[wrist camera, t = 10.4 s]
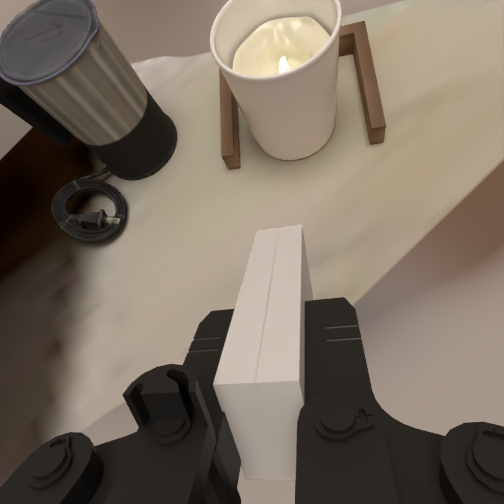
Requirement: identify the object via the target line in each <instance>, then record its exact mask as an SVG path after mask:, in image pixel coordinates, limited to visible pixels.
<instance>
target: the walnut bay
mask: <svg viewBox="0 0 504 504" xmlns="http://www.w3.org/2000/svg"><path fill="white" fill-rule="evenodd" d="M351 53H353V54H354V59H355V64H356V70H357V75H358V81H359V86H360V92H361V97H362V103H363V108H364V114H365V119H366V125H367V130H368V136H369V141H370V144H376V143H381V142H383V140H384V134H385V128H386V124H385V119H384V114H383V109H382V104H381V99H380V94H379V89H378V84H377V79H376V74H375V70H374V65H373V60H372V55H371V50H370V45H369V40H368V35H367V30H366V25H365V21H361V22H357V23H353V24H349V25H345V26H341V27H340V41H339V56H343V55H347V54H351ZM219 73H220V113H221V152H222V158H223V160H224V162H225V163H226V165H227V167H228V168H229V170H230V169H236V168H240V151H239V129H238V106H237V101H236V99H235V97H234V95H233V93H232V91H231V89H230V87H229V85H228V83H227V81H226V79H225V77H224V75H223V73H222V71H221V69H220V67H219Z"/></svg>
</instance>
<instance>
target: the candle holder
mask: <svg viewBox="0 0 504 504" xmlns="http://www.w3.org/2000/svg"><path fill="white" fill-rule="evenodd" d="M341 21H342V10H341V4H340V1H339V0H229V1H228V2H227V3H226V4H225V5H224V6H223V8H222V9H221V10H220V12H219V13H218V15H217V17H216V18H215V21H214V23H213V25H212V29H211V33H210V47H211V52H212V55H213V57H214V59H215V61H216V63H217V64H218V66H219V67H220V69H221V71H222V73H223V75H224V77H225V79H226V81H227V83H228V85H229V87H230V89H231V91H232V93H233V95H234V97H235V99H236V101H237V103H238V105H239V107H240V109H241V111H242V114H243V116H244V118H245V120H246V122H247V124H248V126H249V128H250V130H251V131H252V133H253V135H254V137H255V139H256V141H257V143H258V144H259V146H260V147H261V148H262V150H263V151H265V152H266V153H267V154H269V155H270V156H272V157H274V158H277V159H281V160H298V159H302V158H305V157H308V156H310V155H312V154H314V153H315V152H317V151H318V150H320V149H321V148H322V147H323V146H324V145H325V144H326V143H327V141H328V140H329V138H330V137H331V135H332V132H333V129H334V125H335V117H336V101H337V81H338V61H339V41H340V27H341Z"/></svg>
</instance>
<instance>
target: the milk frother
mask: <svg viewBox="0 0 504 504" xmlns="http://www.w3.org/2000/svg"><path fill="white" fill-rule="evenodd" d="M0 104H2V105H3V106H5V107H6V108H8V109H9V110H10V111H12V112H13V113H14V114H16V115H17V116H19V117H20V118H21V119H23V120H24V121H26V122H27V123H28V124H30V125H31V126H32V127H34V128H35V129H37V130H38V131H40V132H41V133H43V134H44V135H45V136H46V137H48V138H49V139H51V140H52V141H54V142H55V143H57V144H59V145H63V146H66V145H69V143H70V141H71V138H72V136H73V135H74V136H76V137H77V138H78V139H79V140H80V141H81V142H83V143H84V144H85V145H86V146H87V147H88V148H89V149H90V150H91V151H93V152H94V153H95V154H96V155H97V157H98V158H99V159H100V160H101V161H102V162H103V163H105V164H106V166H107V167H106V168H104V169H103V170H101V171H99V172H97V173H95V174H92V175H89V176H86V177H82V178H80V179H78V180H75V181H73V182H71V183H69V184H67V185H65V186H64V187H63V188H61V189H60V190H59V191H58V192H57V194H56V195H55V196H54V198H53V201H52V205H51V208H52V215H53V217H54V219H55V220H56V222H57V223H58V225H59V226H60V227H61V229H62V230H64V231H65V232H66V233H67V234H69V235H70V236H72V237H73V238H75V239H77V240H80V241H83V242H89V243H92V242H102V241H105V240H108V239H110V238H112V237H113V236H115V235H116V234H117V233H118V232H119V231H120V229H121V228H122V226H123V224H124V222H125V219H126V213H127V208H126V202H125V199H124V198H123V196H122V195H121V193H120V192H119V191H118V190H117V189H116V188H115V187H113V186H112V185H110V184H108V183H106V182H102V181H97V180H89V179H92V178H94V177H97V176H100V175H103V174H105V173H107V172H109V171H111V172H112V173H113V174H114V175H116V176H118V177H120V178H123V179H139V178H143V177H146V176H148V175H150V174H152V173H154V172H155V171H157V170H158V169H160V168H161V167H162V166H163V165H164V164H165V163H166V162H167V161H168V159H169V158H170V156H171V154H172V152H173V151H174V148H175V145H176V140H177V133H176V128H175V125H174V123H173V121H172V120H171V119H170V117H169V116H167V115H166V114H165V113H164V112H163V111H162V110H161V108H160V107H159V106H158V104H157V103H156V102H155V100H154V99H153V98H152V96H151V95H150V93H149V92H148V91H147V89H146V87H145V86H144V85H143V83H142V82H141V80H140V79H139V77H138V75H137V74H136V72H135V71H134V69H133V68H132V66H131V65H130V64H129V62H128V61H127V59H126V58H125V56H124V55H123V53H122V52H121V50H120V49H119V47H118V46H117V44H116V43H115V41H114V40H113V39H112V37H111V36H110V34H109V33H108V31H107V30H106V28H105V27H104V25H103V24H102V22H101V21H100V20H99V18H98V17H97V12H96V7H95V6H94V4H93V3H92V1H91V0H38V1H37V2H35V3H33V4H31V5H30V6H28V7H27V8H26V9H25V10H23V11H22V12H21V13H19V14H18V15H17V16H16V17H15V18H14V19H13V20H12V21H11V23H10V24H9V25H7V27H6V29H4V30H3V32H2V35H1V38H0ZM85 191H97V192H101V193H103V194H105V195H107V196H108V197H109V198H110V199H111V200H112V201H113V202H114V204H115V208H116V214H115V217H108V216H107V215H106V213H105V211H104V210H103V209H101V210H100V212H91V213H85V214H84V213H81V214H80V215H74V214H69V213H68V209H67V207H68V204H69V202H70V201H71V200H72V199H73V198H74V197H75V196H76V195H78V194H80V193H82V192H85ZM81 227H82V228H81ZM88 229H91V230H88Z"/></svg>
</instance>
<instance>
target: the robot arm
mask: <svg viewBox="0 0 504 504" xmlns="http://www.w3.org/2000/svg"><path fill="white" fill-rule="evenodd" d="M123 397H124V399H125V401H126V403H127V405H128V407H129V409H130V411H131V413H132V415H133V416H134V418H135V420H136V422H137V424H138V426H139V428H138V430H137V432H135V433H132V434H130V435H128V436H125V437H122V438H119V439H116V440H113V441H110V442H107V443H103V444H100V445H98V446H94V445H93V443H92V442H91V440H90V439H89V437H87V436H85V435H84V434H82V433H74V432H69V433H66V434H63V435H60V436H57V437H55V438H53V439H51V440H50V441H48V442H46V443H45V444H43V445H41V446H40V447H39V448H38V449H37V450H36V451H35V452H33V453H32V454H31V455H30V456H29V457H28V458H27V459H26V460H25V461H24V462H23V463H22V464H21V465H20V466H19V468H18V469H17V470H16V471H15V472H14V473H13V474H12V475H11V476H10V477H9V479H8V480H7V481H6V482H5V483H4V484H3V485H2V486H1V487H0V504H241V498H240V495H239V493H238V490H237V484H238V478H239V472H240V466H241V467H242V470H243V472H244V475H245V478H246V480H296V484H295V485H296V486H295V504H504V427H503V426H499V425H495V424H490V423H486V422H472V423H463V424H462V425H459V426H457V427H455V428H453V429H451V430H450V431H449V432H448V433H447V435H446V436H442V435H439V434H435V433H431V432H427V431H423V430H420V429H416V428H413V427H410V426H408V425H405V424H403V423H401V422H399V421H397V420H396V419H394V418H392V417H391V416H390V415H389V414H388V413H386V412H385V411H384V410H383V409H382V408H381V407H380V405H379V404H378V402H377V401H376V399H375V397H374V394H373V392H372V388H371V383H370V378H369V373H368V368H367V364H366V359H365V354H364V349H363V344H362V340H361V334H360V330H359V326H358V320H357V315H356V310H355V308H354V307H353V306H352V305H351V304H350V303H349V302H348V301H347V300H346V299H345V298H344V297H343V298H332V299H321V300H313V292H312V286H311V280H310V273H309V267H308V260H307V254H306V248H305V241H304V235H303V228H302V224H301V225H294V226H287V227H280V228H272V229H265V230H258V231H257V233H256V236H255V240H254V243H253V247H252V250H251V254H250V257H249V261H248V264H247V268H246V271H245V275H244V278H243V282H242V285H241V289H240V292H239V296H238V299H237V303H236V306H235V309H228V310H218V311H211V312H210V313H209V314H208V315H207V316H206V317H205V319H204V320H203V321H202V322H201V323H200V324H199V326H198V329H197V331H196V334H195V336H194V341H192V343H191V346H190V348H189V353H187V356H186V358H185V361H184V363H183V365H176V364H169V365H164V366H159V367H156V368H154V369H152V370H150V371H148V372H146V373H144V374H142V375H141V376H140V377H138V378H137V379H136V380H135V381H133V382H132V383H131V384H130V386H129V387H128V388H127V390H126V391H125V392H124V394H123Z"/></svg>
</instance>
